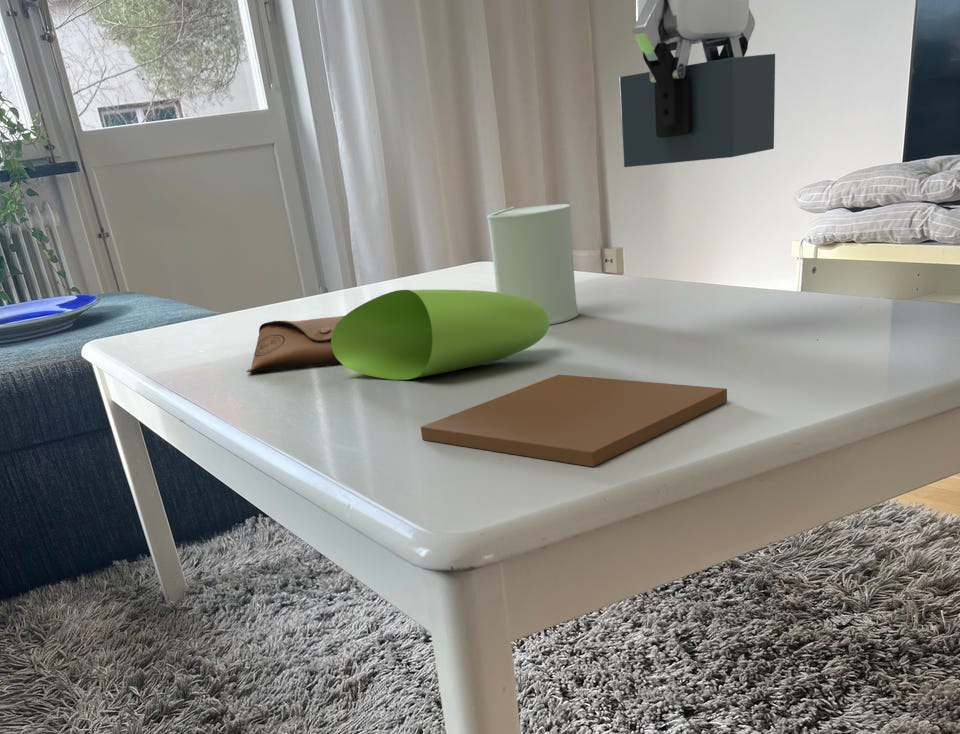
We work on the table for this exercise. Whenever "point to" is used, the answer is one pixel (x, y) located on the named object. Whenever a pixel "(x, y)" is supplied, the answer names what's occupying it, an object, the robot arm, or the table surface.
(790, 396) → the table surface
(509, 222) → the can
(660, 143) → the toaster
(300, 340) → the sunglasses case
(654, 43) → the robot arm
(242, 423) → the table surface
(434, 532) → the table surface
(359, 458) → the table surface
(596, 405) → the mat
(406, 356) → the green curved sheet
